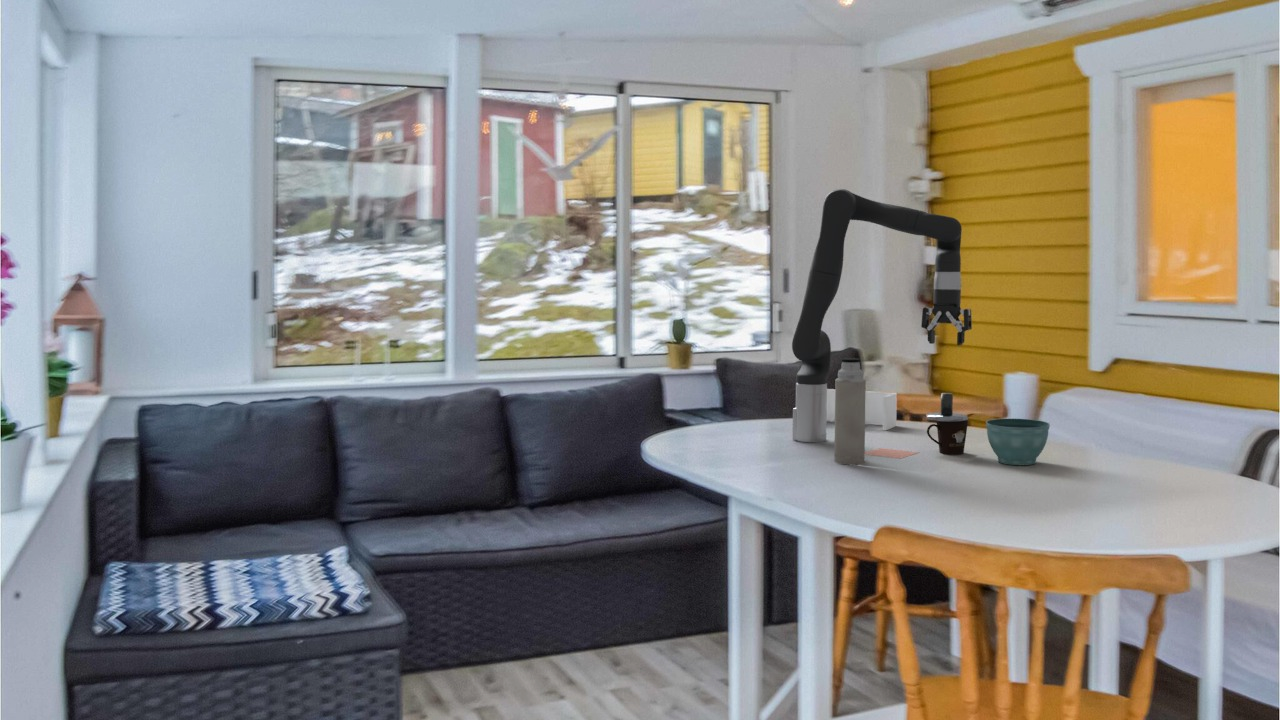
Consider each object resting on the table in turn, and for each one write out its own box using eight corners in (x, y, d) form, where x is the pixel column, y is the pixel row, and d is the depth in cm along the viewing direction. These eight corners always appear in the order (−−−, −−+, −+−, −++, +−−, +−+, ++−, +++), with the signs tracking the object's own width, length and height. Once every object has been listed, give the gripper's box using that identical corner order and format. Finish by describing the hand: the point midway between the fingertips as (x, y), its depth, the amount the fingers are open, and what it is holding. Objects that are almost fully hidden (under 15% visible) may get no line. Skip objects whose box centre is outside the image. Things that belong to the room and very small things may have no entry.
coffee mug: (964, 451, 324) (965, 416, 323) (970, 457, 316) (971, 421, 315) (922, 451, 326) (923, 416, 325) (927, 456, 317) (927, 420, 316)
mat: (860, 455, 319) (860, 453, 319) (880, 449, 329) (880, 448, 329) (900, 459, 312) (900, 458, 312) (919, 453, 321) (919, 452, 321)
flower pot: (1017, 470, 296) (1018, 428, 296) (972, 460, 311) (973, 420, 310) (1062, 465, 304) (1063, 424, 303) (1016, 455, 318) (1017, 416, 317)
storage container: (896, 426, 374) (896, 392, 373) (885, 431, 364) (886, 396, 363) (823, 421, 386) (823, 388, 385) (811, 425, 376) (811, 392, 375)
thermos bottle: (837, 458, 314) (838, 356, 312) (866, 460, 312) (867, 357, 309) (831, 463, 307) (833, 359, 304) (862, 465, 304) (863, 360, 301)
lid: (919, 419, 319) (919, 394, 318) (936, 414, 327) (936, 390, 327) (957, 422, 312) (957, 397, 311) (973, 418, 321) (973, 393, 320)
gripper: (918, 287, 330) (916, 343, 331) (965, 288, 321) (963, 346, 322) (930, 286, 335) (928, 342, 337) (976, 288, 326) (974, 344, 328)
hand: (945, 344), depth 330 cm, fingers open, 8 cm apart
